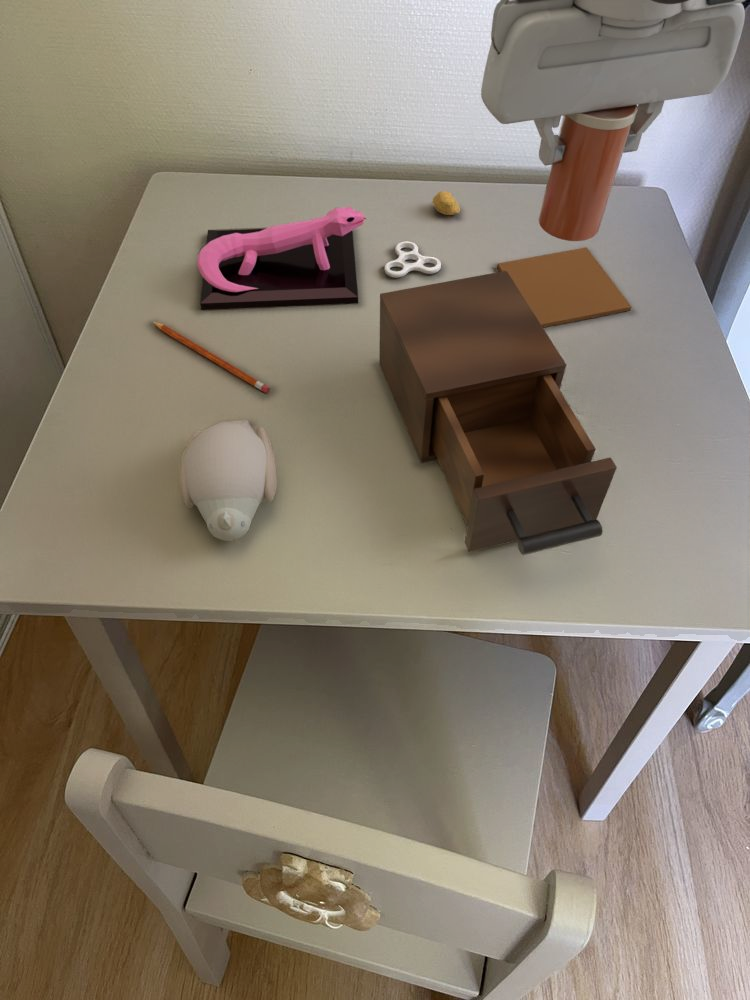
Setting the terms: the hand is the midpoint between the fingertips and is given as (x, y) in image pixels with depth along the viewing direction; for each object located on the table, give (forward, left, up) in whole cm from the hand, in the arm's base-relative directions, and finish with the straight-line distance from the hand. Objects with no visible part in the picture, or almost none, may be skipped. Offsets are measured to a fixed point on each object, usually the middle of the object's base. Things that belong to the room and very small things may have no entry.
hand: (587, 155), depth 67 cm
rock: (0, -30, -24) cm, 38 cm away
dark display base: (+23, -24, -24) cm, 41 cm away
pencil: (+35, -11, -24) cm, 44 cm away
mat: (-8, -11, -24) cm, 27 cm away
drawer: (+10, +17, -23) cm, 30 cm away
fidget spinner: (+8, -21, -24) cm, 33 cm away
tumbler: (0, 0, -7) cm, 7 cm away
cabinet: (+10, +3, -24) cm, 26 cm away
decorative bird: (+35, +8, -24) cm, 43 cm away
